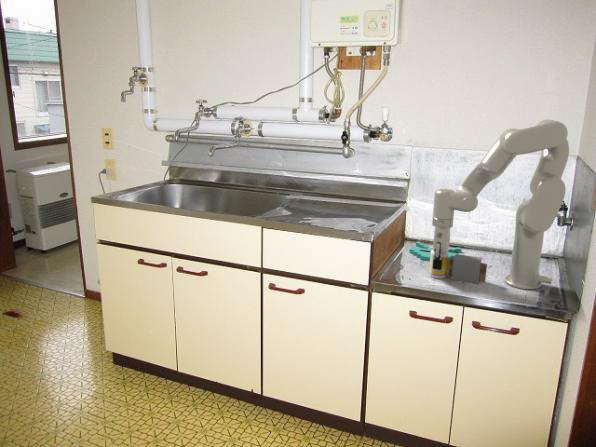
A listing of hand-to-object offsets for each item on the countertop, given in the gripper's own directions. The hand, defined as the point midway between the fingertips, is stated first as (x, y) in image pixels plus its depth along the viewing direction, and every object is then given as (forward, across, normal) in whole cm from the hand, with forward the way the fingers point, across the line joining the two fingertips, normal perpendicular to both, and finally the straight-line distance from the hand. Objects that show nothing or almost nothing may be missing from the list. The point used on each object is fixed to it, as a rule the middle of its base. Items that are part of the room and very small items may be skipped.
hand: (438, 265), depth 188 cm
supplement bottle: (+5, 0, 0) cm, 5 cm away
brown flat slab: (+4, 0, -10) cm, 11 cm away
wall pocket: (+4, 0, -10) cm, 11 cm away
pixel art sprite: (+5, +26, +6) cm, 27 cm away
